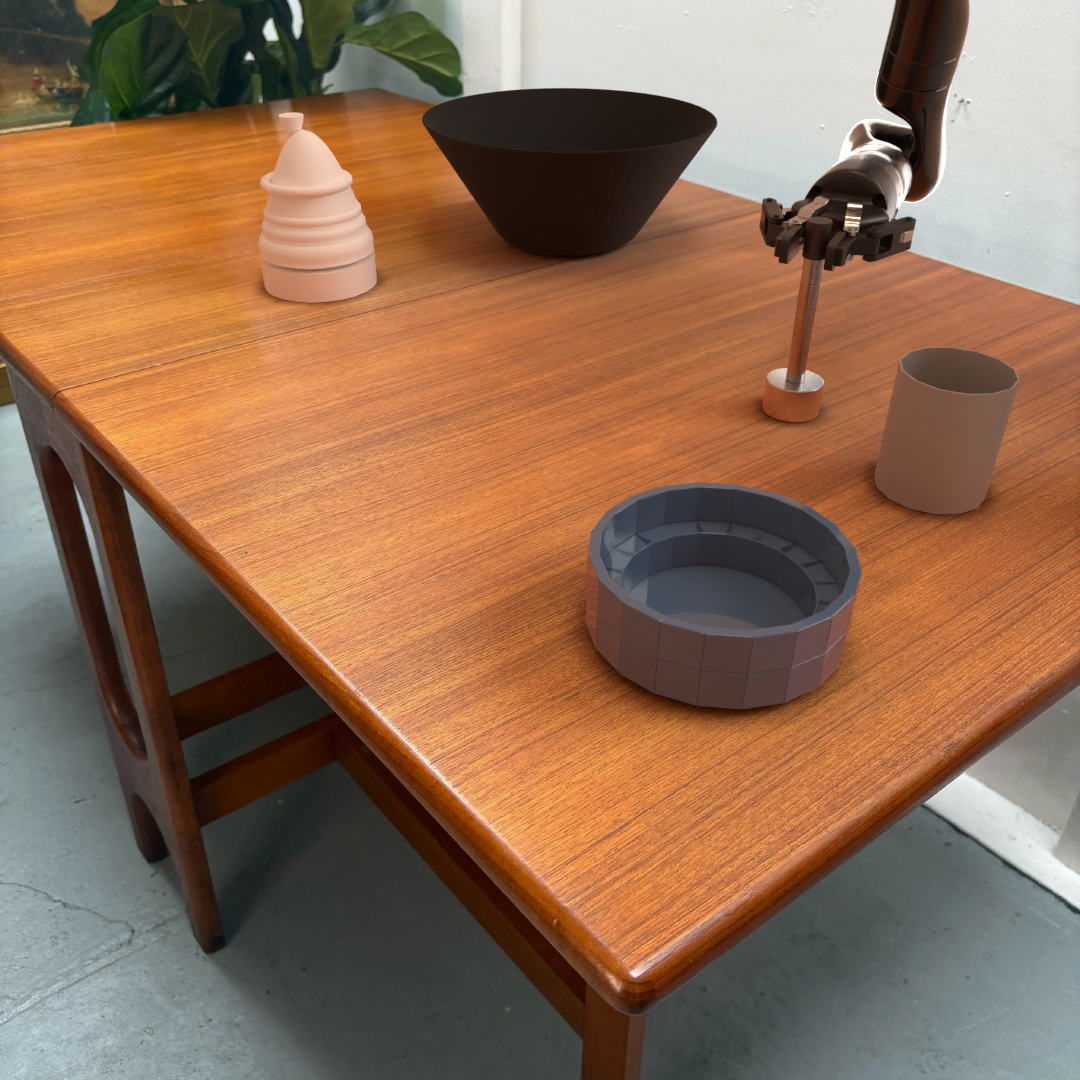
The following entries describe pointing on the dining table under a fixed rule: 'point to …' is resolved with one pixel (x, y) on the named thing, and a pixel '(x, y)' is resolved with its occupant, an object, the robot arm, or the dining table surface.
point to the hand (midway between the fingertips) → (807, 254)
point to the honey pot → (313, 224)
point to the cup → (944, 429)
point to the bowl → (568, 161)
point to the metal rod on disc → (801, 338)
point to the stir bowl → (720, 594)
